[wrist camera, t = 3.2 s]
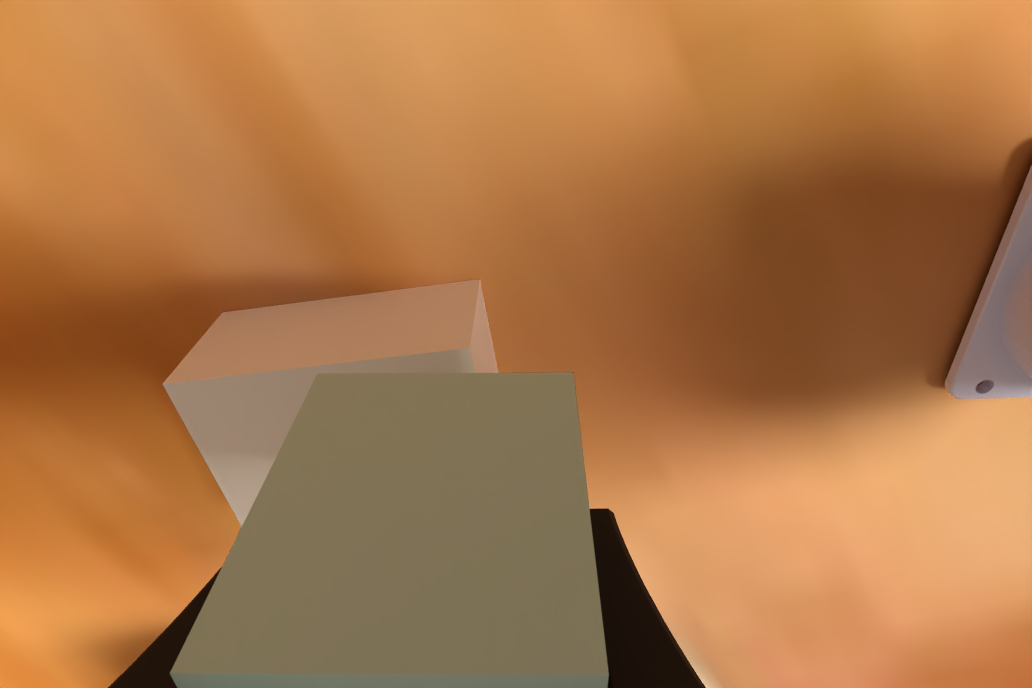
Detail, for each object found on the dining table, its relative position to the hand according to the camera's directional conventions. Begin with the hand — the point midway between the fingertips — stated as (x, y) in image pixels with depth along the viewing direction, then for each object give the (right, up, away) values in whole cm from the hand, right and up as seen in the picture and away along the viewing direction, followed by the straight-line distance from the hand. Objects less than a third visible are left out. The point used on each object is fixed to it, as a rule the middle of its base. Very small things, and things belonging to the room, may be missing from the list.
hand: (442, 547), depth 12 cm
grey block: (-3, +2, +9) cm, 10 cm away
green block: (0, +1, +2) cm, 2 cm away
